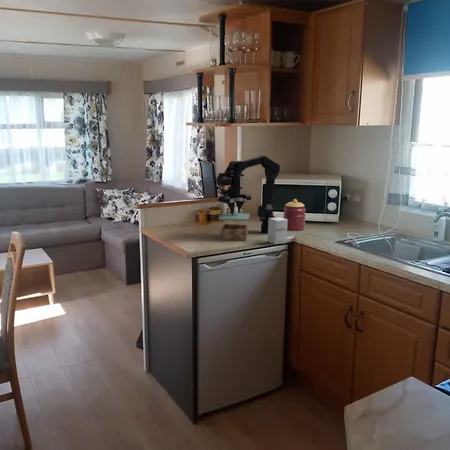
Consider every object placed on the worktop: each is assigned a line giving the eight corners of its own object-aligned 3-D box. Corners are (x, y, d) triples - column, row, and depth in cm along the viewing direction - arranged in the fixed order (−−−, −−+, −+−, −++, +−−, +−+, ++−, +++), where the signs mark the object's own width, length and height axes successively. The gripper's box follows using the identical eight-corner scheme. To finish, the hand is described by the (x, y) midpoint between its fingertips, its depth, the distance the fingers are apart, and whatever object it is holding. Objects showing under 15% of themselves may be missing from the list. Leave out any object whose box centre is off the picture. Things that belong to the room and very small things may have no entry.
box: (247, 235, 262) (247, 224, 261) (245, 241, 250) (245, 229, 249) (224, 234, 264) (224, 223, 263) (221, 239, 251) (221, 228, 250)
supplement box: (275, 244, 243) (275, 220, 241) (267, 241, 250) (268, 217, 247) (287, 243, 247) (288, 219, 244) (279, 240, 253) (279, 216, 250)
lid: (249, 215, 261) (249, 204, 260) (247, 220, 247) (247, 209, 246) (222, 214, 263) (222, 203, 262) (218, 219, 249) (218, 208, 248)
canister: (305, 226, 287) (306, 197, 283) (304, 231, 275) (306, 201, 271) (283, 225, 289) (284, 197, 286) (282, 230, 277) (283, 200, 273)
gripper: (239, 182, 263) (238, 210, 267) (212, 184, 252) (211, 213, 255) (252, 184, 255) (251, 213, 258) (224, 186, 243) (224, 216, 247)
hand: (234, 213), depth 255 cm, fingers closed on lid, 3 cm apart
